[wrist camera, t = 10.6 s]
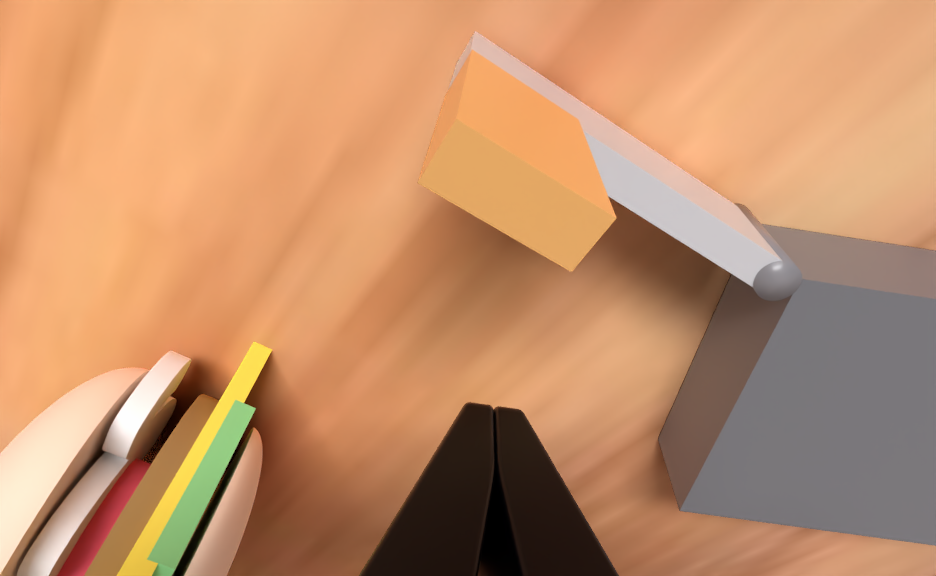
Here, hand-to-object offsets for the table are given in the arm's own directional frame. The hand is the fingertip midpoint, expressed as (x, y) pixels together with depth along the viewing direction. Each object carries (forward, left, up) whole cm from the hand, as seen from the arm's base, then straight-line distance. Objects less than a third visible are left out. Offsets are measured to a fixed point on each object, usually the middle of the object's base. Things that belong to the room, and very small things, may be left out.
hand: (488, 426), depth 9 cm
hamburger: (+11, +14, -12) cm, 21 cm away
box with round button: (-16, +6, -11) cm, 20 cm away
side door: (-3, -1, -11) cm, 12 cm away
